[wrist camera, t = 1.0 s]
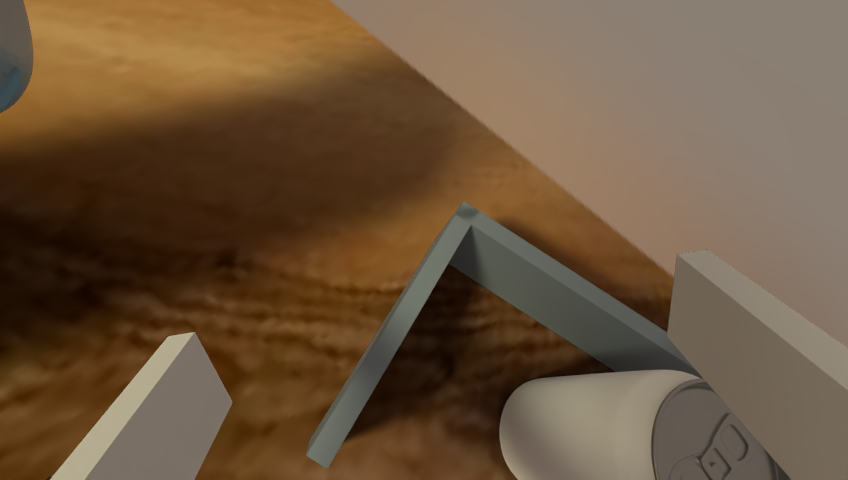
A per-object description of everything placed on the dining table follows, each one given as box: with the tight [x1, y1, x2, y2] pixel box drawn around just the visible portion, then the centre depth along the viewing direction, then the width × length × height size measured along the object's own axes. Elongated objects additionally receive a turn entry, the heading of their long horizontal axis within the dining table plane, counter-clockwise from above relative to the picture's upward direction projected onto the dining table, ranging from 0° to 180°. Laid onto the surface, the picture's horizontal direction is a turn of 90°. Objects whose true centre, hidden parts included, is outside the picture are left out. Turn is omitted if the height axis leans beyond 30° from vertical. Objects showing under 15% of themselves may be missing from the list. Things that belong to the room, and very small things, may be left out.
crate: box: [306, 201, 703, 469], centre depth 22 cm, size 14×24×6 cm, turn 59°
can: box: [499, 370, 791, 480], centre depth 19 cm, size 6×6×12 cm
